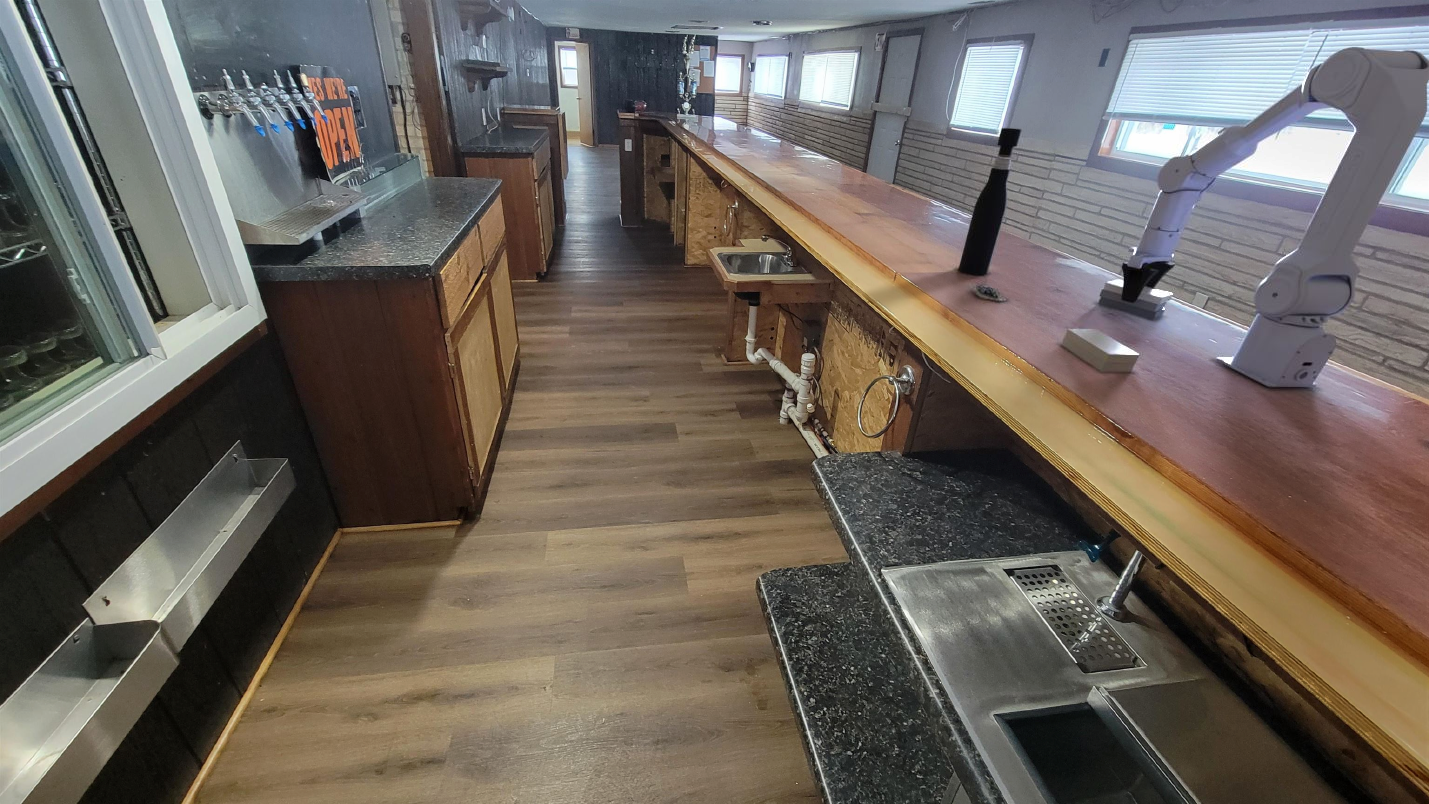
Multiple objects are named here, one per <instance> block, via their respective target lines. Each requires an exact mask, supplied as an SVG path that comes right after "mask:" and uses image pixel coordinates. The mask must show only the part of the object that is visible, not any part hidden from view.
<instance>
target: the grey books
mask: <svg viewBox="0 0 1429 804" xmlns="http://www.w3.org/2000/svg"><path fill="white" fill-rule="evenodd" d="M1099 297H1100V298H1099V300H1098V303H1097V305H1099V306H1103V307H1105V308H1109V309H1113V310H1116V311H1119V312H1123V313H1127V314H1130V315H1133V316H1136V317H1140V318H1144V319H1147V320H1150V321H1154V320H1157V319H1159V318H1162V317H1163V315H1164V313H1165V311H1166V308H1165V306H1166V304H1167V302H1164V303H1162V304H1155V303H1152V302H1148V301H1144V300H1141V299H1137V300H1136V301H1135V302H1134V303H1130V302H1126V301H1123V300H1122V294H1119V293H1115V292H1111V291H1108V290H1104V289H1103V288H1102V289H1101V291H1100V292H1099Z"/></svg>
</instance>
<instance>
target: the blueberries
mask: <svg viewBox="0 0 1429 804" xmlns="http://www.w3.org/2000/svg"><path fill="white" fill-rule="evenodd" d="M970 288H971V290H972V291H973V292H974V294H975V295H976V296H978V297H979V298H981V299H985V300H991V301H996V302H1006V300H1007V298H1006V297H1004V295H1003V293H1001V292H1002V291H1001V290H1000V291H999V289H996V288H995V287H992V286H990V285H987V286H986V285H985V284H980V285H976V286H970ZM1002 295H1003V296H1002Z"/></svg>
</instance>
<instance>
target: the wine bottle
mask: <svg viewBox="0 0 1429 804" xmlns="http://www.w3.org/2000/svg"><path fill="white" fill-rule="evenodd" d="M1022 132H1023V130H1022V128H1013V127H1012V128H1011V127H1002V128H1001V129H1000V134H999V137H998V140H997V146H1000V147H999V151H998V153H997V157H998V158H995V160H993V162H994V164H993V165H992V166H993V167H991V168H990V172H989V176H988V179H987V181H986V183H985V184H984V186H983V189H982V190H981V192H980V193H979V195H978V198H977V199H976V202H975V204H974V208H973V212H972V215H971V219H970V223H969V226H968V230H967V234H966V238H965V241H964V246H963V250H962V254H961V257H960V262H959V265H958V270H959V271H960V272H962V273H964V274H967V275H973V276H985V275H988V273H989V270H990V266H991V264H992V260H993V256H994V253H995V249H996V246H997V242H998V239H999V236H1000V231H1001V228H1002V225H1003V222H1004V218H1005V215H1006V211H1007V205H1008V185H1007V184H1008V180H1009V177H1010V172H1011V169H1010V168H1011V164H1012V160H1011V159H1009V158H1011V157H1012V154H1013V150H1014V148H1017V147H1018V145H1019V142H1020V139H1021V135H1022Z"/></svg>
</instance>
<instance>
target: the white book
mask: <svg viewBox="0 0 1429 804" xmlns="http://www.w3.org/2000/svg"><path fill="white" fill-rule="evenodd" d="M1123 282H1124V279H1119V278H1116V279H1113V280H1110V281H1107V282H1105V283H1104V286H1103V287H1102V289H1104V290H1108V291H1111V292H1115V293H1119V294H1122V290H1123ZM1173 296H1174V293H1173V292H1169V291H1165V290H1162V289H1158V288H1155V287H1154V288H1150V287H1146V286H1145V287H1144V288H1143V290H1142V292H1141V294H1140V295H1139V297H1138V298H1137V299H1141V300H1144V301H1148V302H1152V303H1155V304H1162V303H1164V302H1166V303H1167V302H1169V301H1171V299H1172V298H1173Z"/></svg>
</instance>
